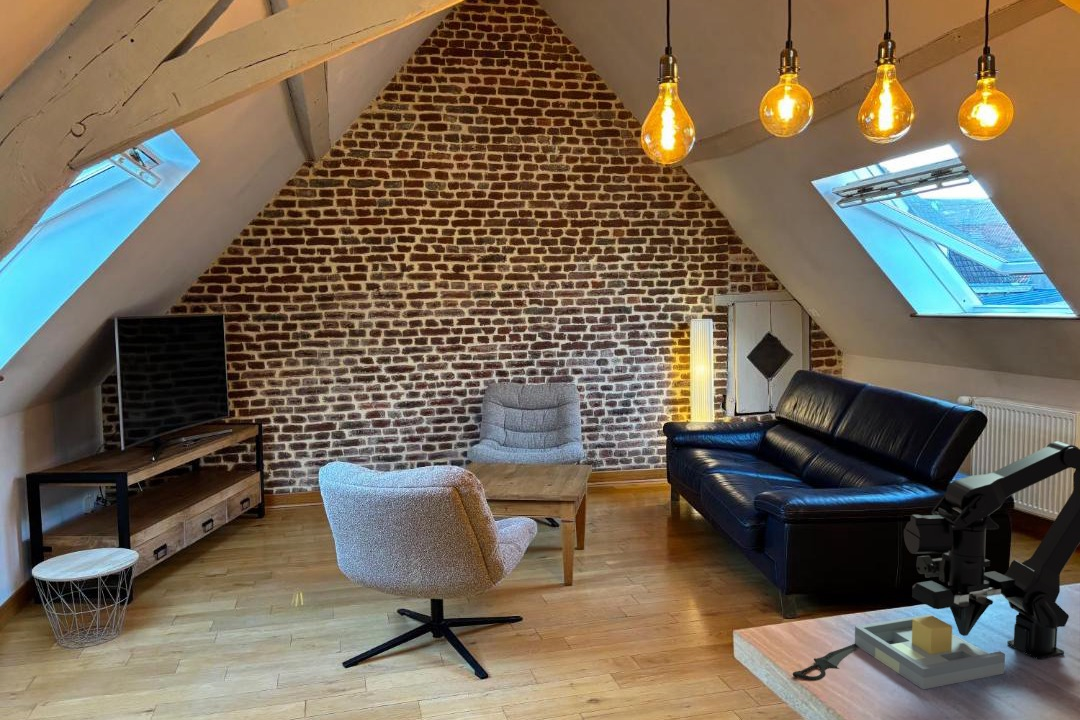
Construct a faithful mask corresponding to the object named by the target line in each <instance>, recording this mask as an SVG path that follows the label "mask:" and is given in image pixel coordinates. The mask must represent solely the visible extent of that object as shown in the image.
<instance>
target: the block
mask: <svg viewBox="0 0 1080 720" xmlns="http://www.w3.org/2000/svg"><path fill="white" fill-rule="evenodd" d="M952 634H953V625H951V624H949V623H948V622H945V621H944V620H942V619H940V618H937V617H936V616H934V615H933V616H929V617H923V618H917V619H913V621H912V644H914V645H916V646H917V647H919V648H921V649H923V650H924V651H926V652H928V653H929V654H935V653H941V652H946V651H951V647H952Z"/></svg>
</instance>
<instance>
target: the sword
mask: <svg viewBox="0 0 1080 720" xmlns="http://www.w3.org/2000/svg"><path fill="white" fill-rule="evenodd" d="M859 649H861V648H860V647H858V646H857V645H856V644H855V643H852V644H849V645H848V646H845V647H842V648H839V649H836V650H833V651H830V652H828V653H827V654H825V655H824V656H821V657H817V658H816V657H815V658H813V661H814V662H815V663H814V664H812V665H810V666H808V667H806V668H804V669H802V670H797V671H794V672H792V676H793V678H795V679H797V678H800V679H803V680H808V681H818V680H822V679H823V678H825V676H826V670H827V669H840V668H839V667H838V666H839V664H840V663H841V662H842V661H844V659H845V658H847V657H848V656H849V655H850V654H852V653H854V652H855V651H858V650H859ZM815 668H816V669H817V668H818V669H819V670H820V673H819V674H818V675H813V676H811V675H807V674H806V673H808V672H810V671H811V670H813V669H815Z"/></svg>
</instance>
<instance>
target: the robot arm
mask: <svg viewBox="0 0 1080 720" xmlns="http://www.w3.org/2000/svg"><path fill="white" fill-rule="evenodd" d="M1070 468H1072V469H1074V473H1073V490H1072V493H1071V494H1070V496H1069V497H1068V499H1067V501H1066V502H1065V504H1064V506H1063V507H1062V508H1061V510H1060V512H1059V513H1058V515H1057V517H1056V518H1055V519H1054V520H1053V522H1052V524H1051V526H1050V527H1049V528H1048V530H1047V531H1046V533H1045V535H1044V537H1043V538H1042V540H1041V541H1040V542H1039V544H1038V546H1037V548H1036V550H1035V551H1034V552H1033V554H1032V556H1031V557H1030V558H1028V559H1026V560H1024V561H1023V562H1020V561H1018V560H1016V559H1013V560H1012V561H1011V562H1010V565H1009V567H1008V569H1007V571H1006V572H1005V573H1004V574H1002V573H1000V572H997V571H995V570H993V571H987V572H985V568H987V567H991V560H989V559H987V558H986V540H987V539H986V538H987V537H986V534H987V530H999V528H1000V526H999V524H998V523H996V522H995V521H994V520H993V519H992V518H991V516H990V515H991V514H993V513H994V512H996V511H997V510H999V509H1000V508H1001V507H1002V505H1003V504H1004V503H1005V501H1006V499H1008V498H1009V497H1011V496H1012V495H1014V494H1017V493H1019V492H1020V491H1023V490H1025V489H1027V488H1029V487H1031V486H1033V485H1035V484H1038V483H1040V482H1041V481H1043V480H1045V479H1048V478H1051V477H1052V476H1054V475H1057V474H1058V473H1061V472H1063V471H1065V470H1067V469H1070ZM952 510H954V511H957V512H958V513H959V514H957V513H955V512H953V511H952ZM903 540H904V543H905V546H906V548H907V550H908V551H909V553H910V554H913V555H914V554H915V555H916V554H917V555H919V554H920V555H921V554H942V555H941V557H938V558H932V556H930V555H921V556H916V562H915V566H916V570H917V573H918V574H920V575H924V577H925V578H927V579H928V578H935V577H936V578H938V580H939V581H940V582H942V583H947V585H945V586H944V585H942V584H939V583H937V582H935V581H933V580H927V581H921V582H916V583H915V584H913V585H912V591H911V593H912V595H911V598H913V599H914V600H916V601H918V602H921V603H922V604H924V605H926V606H928V607H930V608H932V609H933V610H934V609H935V610H943V609H948V608H949V609H950V611H951V614H952V616H953V619H954V622H955V624H956V628H957V631H958V633H959V635H961V636H963V637H966V636H968V635H970V633H971V630H972V629H973V628H974V626H976V624H977V622H978V620H979V619H980V618H981V616H983V614H984V613H985V611H986V610H987V609H988V608H989V606H991V605H993V603H994V601H993V600H992V599H990V598H988V595H987V592H990V591H997V590H1000V594H1001V595H1002V596H1003V597H1004V598H1005V599H1006V600H1007V601H1008V604H1009V607H1010V608H1011V609H1013V610H1014V611H1016V612H1018V614H1016V615H1015V624H1014V628H1013V630H1014V631H1013V639H1011V640H1007V642H1006V643H1007V645H1009V646H1011V647H1013V648H1015V649H1016V650H1019V651H1020V652H1023V653H1024V654H1026V655H1028V656H1030V657H1031V658H1034V659H1036V660H1041V659H1047V658H1051V657H1056V656H1062V655H1064V654H1065V650H1063V649H1061V648H1058V647H1057V643H1058V642H1057V641H1058V640H1057V639H1058V628H1059V627H1061V628H1062V627H1066V624H1067V622H1068V621H1069V617H1070V616H1069V614H1068V613H1067V612H1066V611H1065V610H1064V609H1063V608H1062V607H1061V606H1060V605H1058V603H1057V599H1058V596H1059V594H1060V590H1061V588H1060V585H1061V581H1060V580H1061V573H1062V571H1063V570H1064V568H1065V567H1066V565H1067V564H1068V562H1069V561H1070V559H1071V557H1072V556H1073V554H1074V552H1075V551H1076V550H1077V547H1078V546H1079V545H1080V448H1079V447H1077V446H1075V445H1073V444H1070V443H1067V442H1063V441H1058V440H1057V441H1053V442H1049V443H1048V444H1047V445H1046V446H1045V447H1043V448H1041V449H1039V450H1037V451H1035V452H1033V453H1031V454H1029V455H1026V456H1025V457H1022V458H1020V459H1018V460H1016V461H1014V462H1011V463H1010V464H1007V465H1005V466H1003V467H1001V468H999V469H996V470H994V471H993V472H989V473H986V474H985V473H984V474H975V475H969V476H966V477H962V478H959V479H956V480H953V481H952V482H950V483H949V484H948V485H947V486H946V491H945V493H944V494H943V496H942V497H941V499H939V501H938V503H937V504H936V505H935V506H934V508H933V509H931V515H921V514H911V515H910V521H907V523H906V525H905V527H904V528H903Z"/></svg>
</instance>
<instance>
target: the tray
mask: <svg viewBox="0 0 1080 720" xmlns="http://www.w3.org/2000/svg"><path fill="white" fill-rule="evenodd" d="M929 616H934V615H933V614H931V613H927V614H920V615H915V616H908V617H904V618H896V619H891V620H884V621H879V622H872V623H868V624H862V625H860V624H859V625H855V627H854V644H856V645H857V646H858V647H860V648H859V649H861V650H862V651H864V652H866V653H867V654H869V655H870V656H872V657H873V658H875V659H876V660H878V661H879V662H880V663H883V665H886V666H887V667H888V668H890V669H891V670H892V671H894V672H896V673H897V674H899V675H900V676H902V677H904V678H905V679H907V680H908V681H910V682H911V683H912V684H914V685H916V686H917V687H918V688H920V689H922V690H926V689H927V690H928V689H933V688H937V687H942V686H946V685H947V686H949V685H952V684H957V683H962V682H963V683H964V682H967V681H973V680H977V679H983V678H988V677H993V676H994V677H995V676H998V675H1004V674H1005V666H1006V665H1005V663H1006V661H1005V660H1006V653H1004V652H1002V651H1000V650H999V651H994V652H990V653H988V652H986V651H985V650H983V649H981V648H979V647H977V646H976V645H974V644H972V643H970V642H968V641H966V640H965V639H963V638H961V637H959V636H957V635H955V634H954V633H952V647H951V651H946V652H941V653H935V654H929V653H928V652H926V651H924V650H923V649H921V648H919V647H917V646H916V645H914V644H912V621H913V619H917V618H923V617H929ZM888 642H893V643H891V644H890V643H888Z"/></svg>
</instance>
